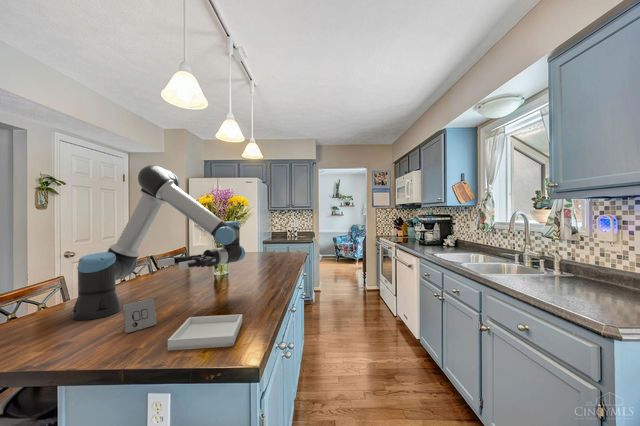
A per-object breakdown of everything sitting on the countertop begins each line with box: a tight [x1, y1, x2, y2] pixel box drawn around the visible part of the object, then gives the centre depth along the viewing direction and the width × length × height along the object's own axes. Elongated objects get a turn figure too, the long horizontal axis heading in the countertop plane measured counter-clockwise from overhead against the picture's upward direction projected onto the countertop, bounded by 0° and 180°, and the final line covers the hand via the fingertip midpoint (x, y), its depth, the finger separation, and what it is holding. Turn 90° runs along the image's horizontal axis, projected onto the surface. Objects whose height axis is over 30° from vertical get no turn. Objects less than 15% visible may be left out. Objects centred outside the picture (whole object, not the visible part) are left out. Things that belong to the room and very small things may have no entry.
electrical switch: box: [122, 298, 157, 334], centre depth 96 cm, size 9×5×9 cm, turn 141°
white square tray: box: [167, 313, 243, 352], centre depth 89 cm, size 18×18×3 cm
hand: (168, 265), depth 105 cm, fingers open, 13 cm apart
